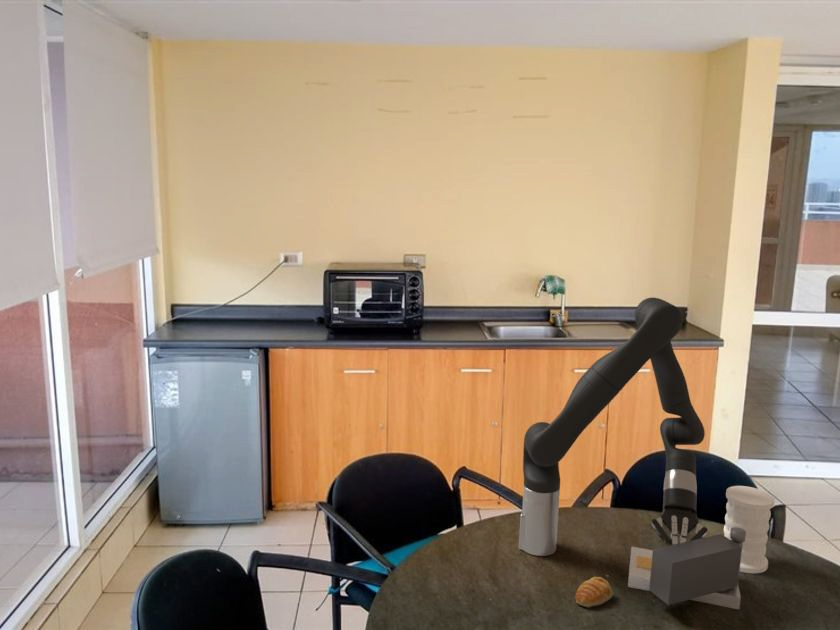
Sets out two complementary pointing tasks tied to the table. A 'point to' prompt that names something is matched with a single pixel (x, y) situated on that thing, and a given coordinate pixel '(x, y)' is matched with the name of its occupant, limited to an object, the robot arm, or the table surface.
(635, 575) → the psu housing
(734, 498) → the decorative container
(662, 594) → the grey block with knob
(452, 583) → the table surface
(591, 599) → the pastry
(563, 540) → the table surface
